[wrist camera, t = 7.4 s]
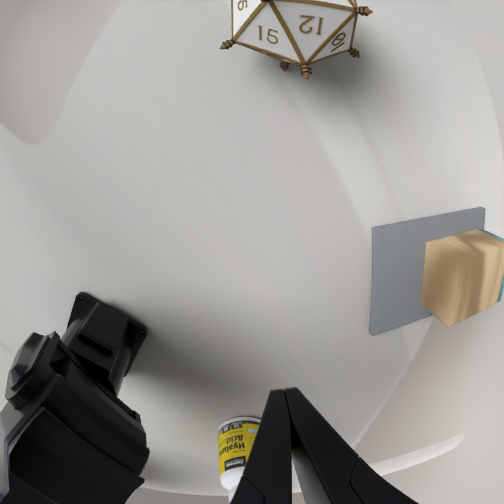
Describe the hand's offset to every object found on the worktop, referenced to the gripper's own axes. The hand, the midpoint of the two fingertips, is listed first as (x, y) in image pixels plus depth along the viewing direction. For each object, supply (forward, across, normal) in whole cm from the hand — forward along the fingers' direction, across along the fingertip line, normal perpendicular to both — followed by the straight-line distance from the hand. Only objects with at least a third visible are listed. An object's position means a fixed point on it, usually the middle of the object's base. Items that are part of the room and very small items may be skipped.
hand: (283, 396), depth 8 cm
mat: (+14, -16, +4) cm, 22 cm away
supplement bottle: (+12, +3, +20) cm, 24 cm away
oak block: (+11, -15, +4) cm, 19 cm away
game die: (+14, -3, -15) cm, 21 cm away
